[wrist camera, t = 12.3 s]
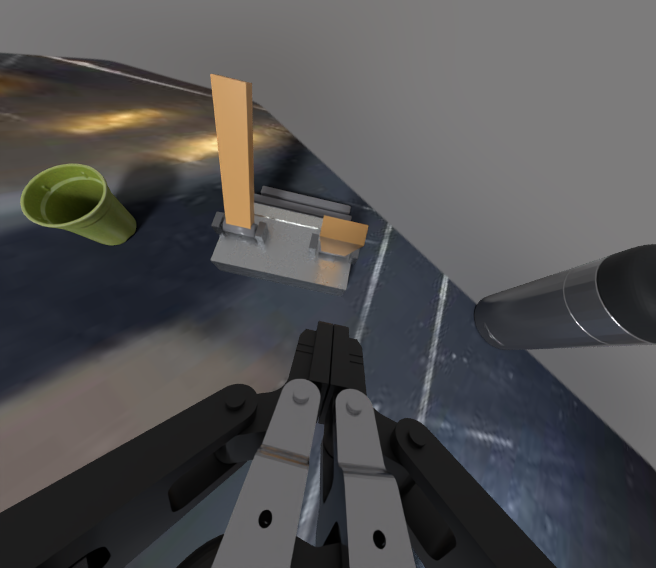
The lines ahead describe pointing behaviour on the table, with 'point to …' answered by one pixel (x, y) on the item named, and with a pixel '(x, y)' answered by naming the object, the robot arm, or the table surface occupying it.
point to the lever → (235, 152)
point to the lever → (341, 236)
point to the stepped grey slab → (302, 204)
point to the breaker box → (282, 251)
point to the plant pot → (77, 204)
